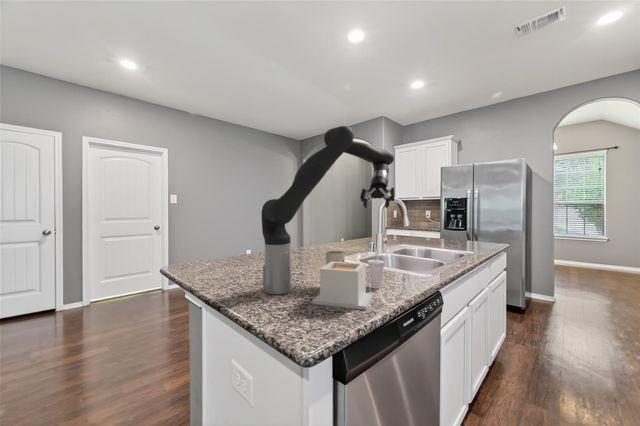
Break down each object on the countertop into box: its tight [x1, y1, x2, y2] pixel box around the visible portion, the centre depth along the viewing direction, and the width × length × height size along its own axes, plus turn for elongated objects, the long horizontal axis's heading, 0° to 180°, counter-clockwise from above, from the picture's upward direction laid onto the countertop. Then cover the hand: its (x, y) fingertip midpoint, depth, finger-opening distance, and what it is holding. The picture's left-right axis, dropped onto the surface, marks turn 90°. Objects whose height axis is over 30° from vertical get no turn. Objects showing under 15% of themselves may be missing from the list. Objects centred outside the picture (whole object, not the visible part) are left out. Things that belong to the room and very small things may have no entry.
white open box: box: [311, 261, 374, 311], centre depth 89 cm, size 17×13×11 cm
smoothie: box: [366, 249, 386, 290], centre depth 102 cm, size 6×6×14 cm
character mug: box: [325, 250, 345, 265], centre depth 104 cm, size 11×7×13 cm, turn 13°
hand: (375, 206), depth 114 cm, fingers open, 8 cm apart
